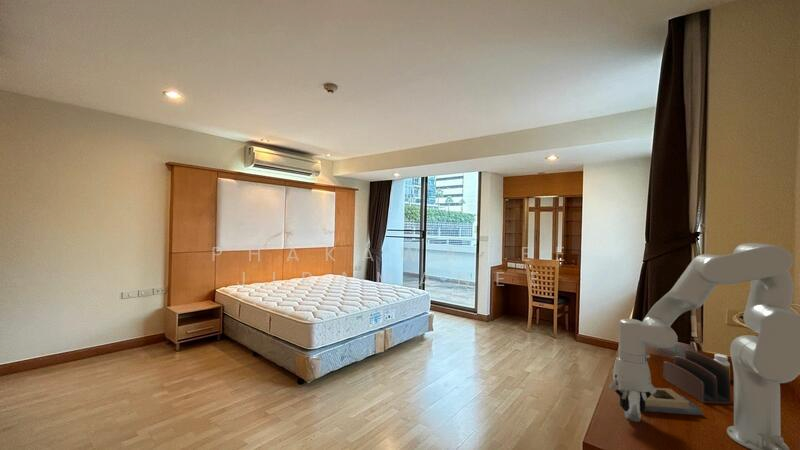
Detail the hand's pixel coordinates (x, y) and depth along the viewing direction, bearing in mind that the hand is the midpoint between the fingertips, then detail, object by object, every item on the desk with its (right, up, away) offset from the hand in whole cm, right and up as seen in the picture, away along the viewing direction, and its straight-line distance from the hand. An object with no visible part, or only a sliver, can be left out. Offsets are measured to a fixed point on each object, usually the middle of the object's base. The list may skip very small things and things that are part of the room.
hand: (632, 409), depth 112 cm
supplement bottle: (+58, -3, +28) cm, 64 cm away
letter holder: (+37, -3, +18) cm, 41 cm away
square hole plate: (+15, -3, +8) cm, 17 cm away
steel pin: (0, -3, 0) cm, 3 cm away
